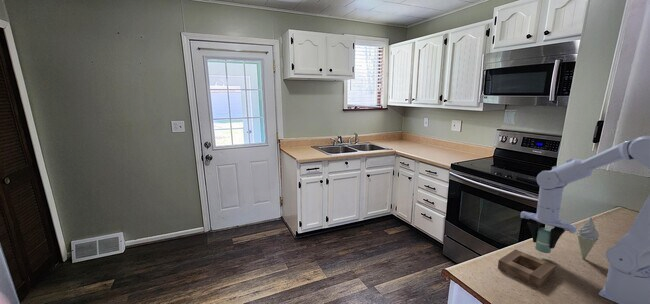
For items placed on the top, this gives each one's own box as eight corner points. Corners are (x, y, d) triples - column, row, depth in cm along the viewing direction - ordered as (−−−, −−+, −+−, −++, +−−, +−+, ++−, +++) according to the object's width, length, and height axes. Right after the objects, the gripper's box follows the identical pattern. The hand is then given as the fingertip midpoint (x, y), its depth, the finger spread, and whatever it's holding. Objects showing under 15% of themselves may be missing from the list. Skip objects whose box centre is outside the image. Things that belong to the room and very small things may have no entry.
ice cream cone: (598, 264, 87) (606, 220, 84) (579, 262, 88) (587, 219, 85) (586, 255, 92) (593, 214, 89) (569, 254, 93) (576, 213, 90)
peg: (552, 250, 90) (555, 231, 89) (547, 254, 88) (550, 234, 87) (538, 245, 93) (540, 226, 92) (533, 248, 91) (535, 229, 90)
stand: (554, 274, 82) (555, 265, 82) (538, 287, 77) (540, 278, 76) (514, 257, 91) (515, 249, 91) (497, 268, 86) (498, 259, 85)
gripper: (582, 210, 84) (576, 250, 86) (528, 197, 96) (524, 232, 98) (574, 216, 80) (567, 257, 83) (519, 201, 92) (515, 238, 95)
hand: (543, 244), depth 90 cm, fingers closed on peg, 4 cm apart
